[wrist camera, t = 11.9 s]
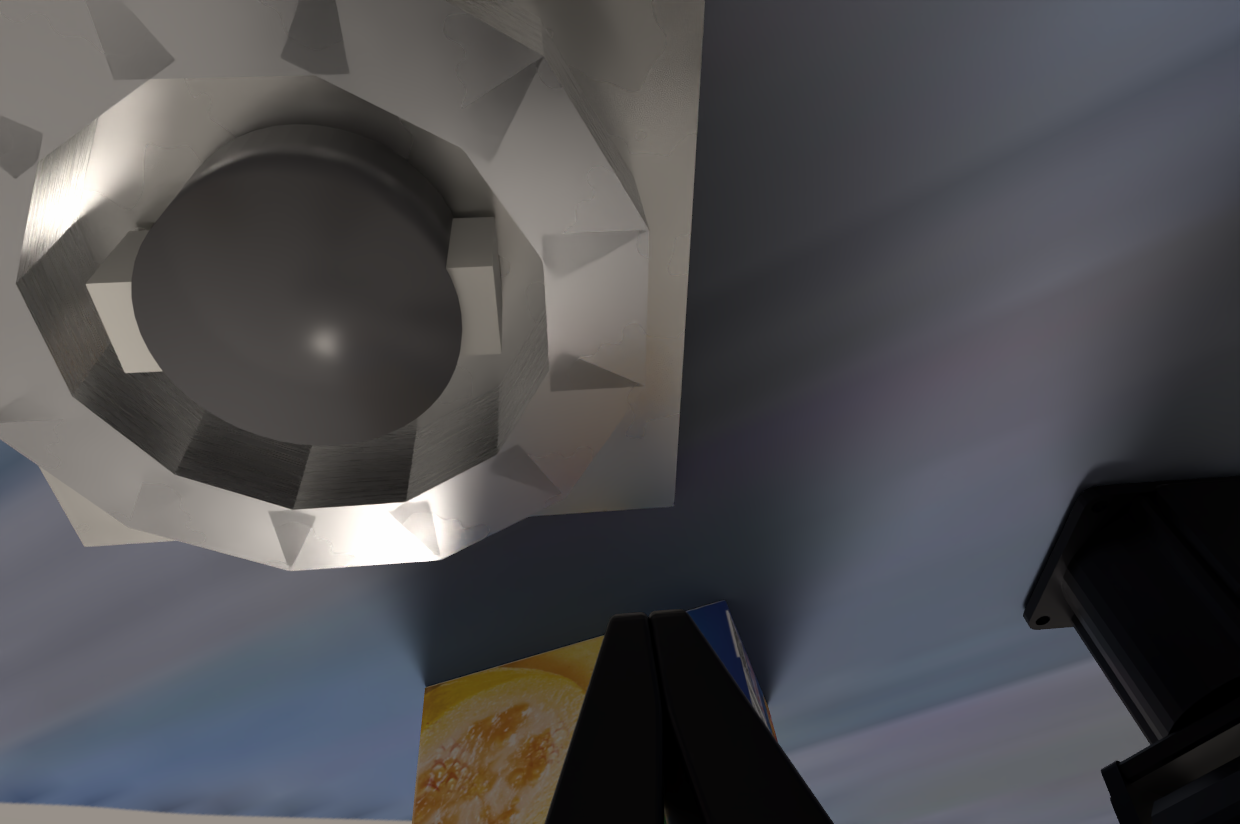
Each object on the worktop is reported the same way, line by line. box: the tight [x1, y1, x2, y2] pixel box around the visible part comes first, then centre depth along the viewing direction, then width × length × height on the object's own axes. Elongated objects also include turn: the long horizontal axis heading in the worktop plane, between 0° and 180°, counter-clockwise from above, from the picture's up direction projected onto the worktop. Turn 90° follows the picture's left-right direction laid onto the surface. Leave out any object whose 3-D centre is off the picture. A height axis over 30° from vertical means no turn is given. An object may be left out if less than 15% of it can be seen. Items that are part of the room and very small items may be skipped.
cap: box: [86, 124, 503, 446], centre depth 17 cm, size 6×7×3 cm
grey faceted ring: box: [0, 0, 705, 571], centre depth 17 cm, size 16×16×3 cm
